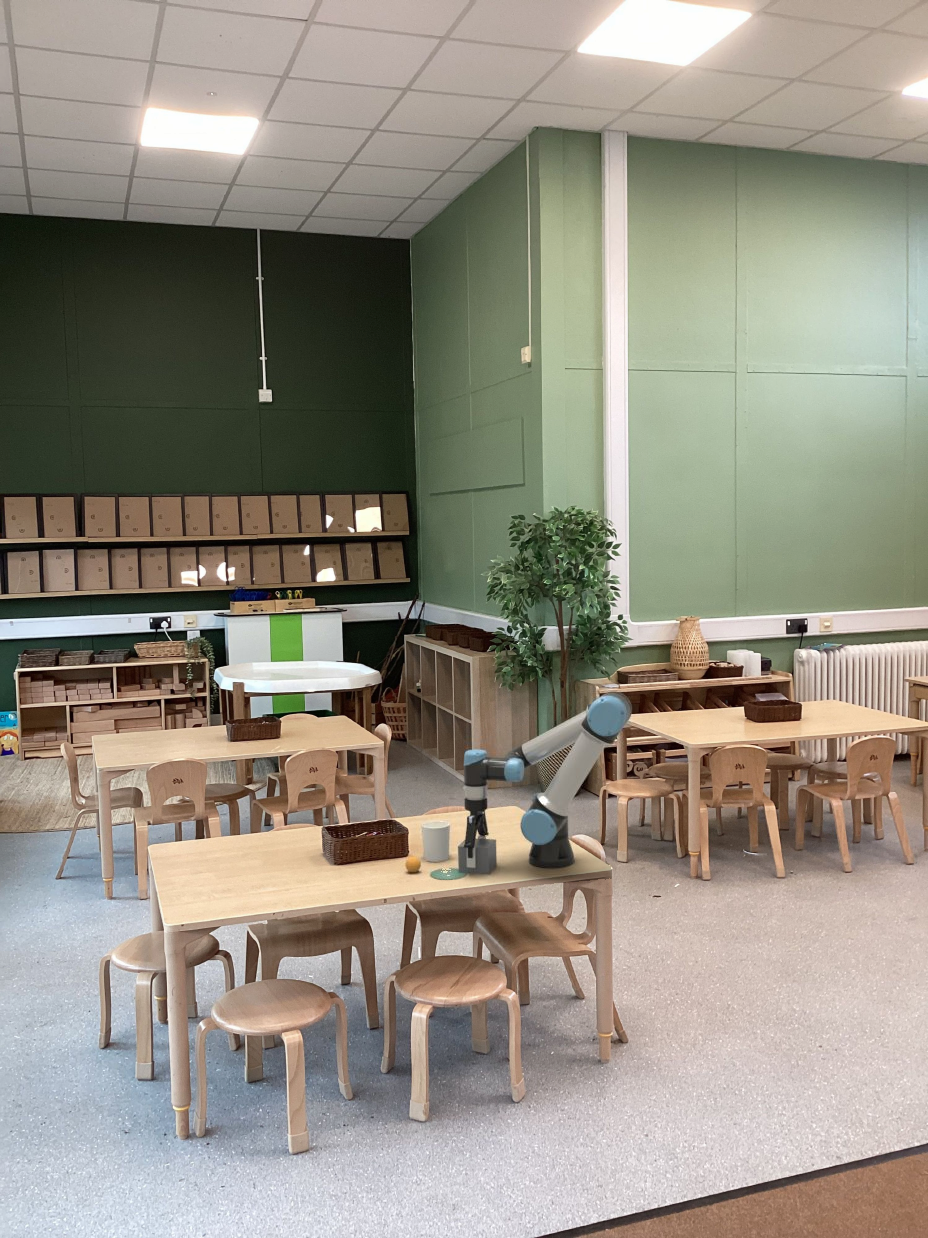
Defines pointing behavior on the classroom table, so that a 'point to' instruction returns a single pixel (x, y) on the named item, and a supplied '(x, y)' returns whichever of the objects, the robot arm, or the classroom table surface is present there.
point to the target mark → (443, 876)
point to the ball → (413, 864)
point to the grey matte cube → (479, 857)
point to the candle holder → (436, 840)
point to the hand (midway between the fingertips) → (476, 861)
